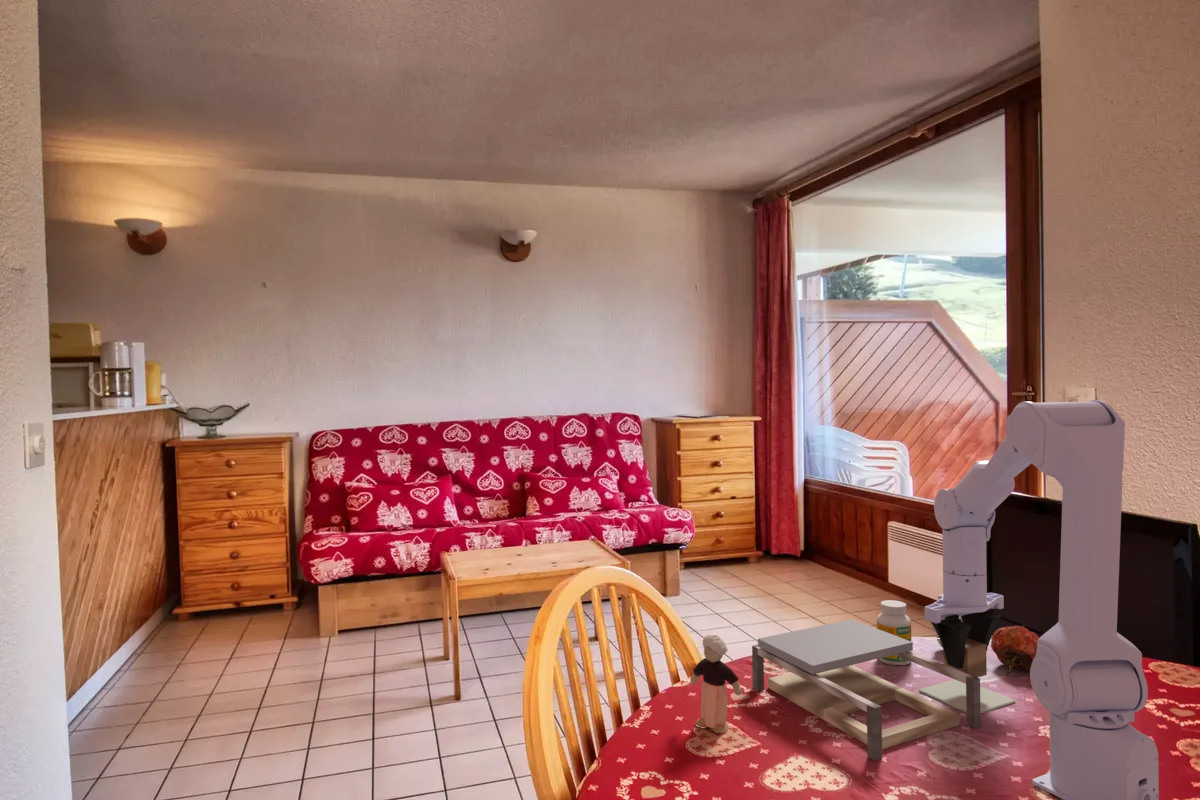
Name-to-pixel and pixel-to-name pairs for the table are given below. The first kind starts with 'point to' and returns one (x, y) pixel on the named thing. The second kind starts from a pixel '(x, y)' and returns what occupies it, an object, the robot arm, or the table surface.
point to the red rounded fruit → (1015, 646)
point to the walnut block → (973, 659)
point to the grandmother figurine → (714, 684)
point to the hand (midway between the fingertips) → (965, 663)
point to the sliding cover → (834, 645)
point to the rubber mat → (956, 696)
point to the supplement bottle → (894, 626)
